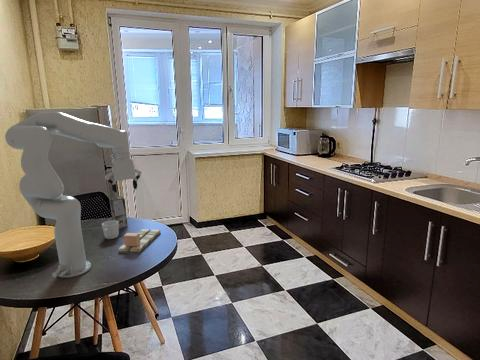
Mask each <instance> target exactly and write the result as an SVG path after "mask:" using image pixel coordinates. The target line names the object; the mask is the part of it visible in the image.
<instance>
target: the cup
mask: <svg viewBox="0 0 480 360" xmlns="http://www.w3.org/2000/svg"><path fill="white" fill-rule="evenodd" d="M101 227H102V232H103V235H104V238H105V239H106V240H114V239H116V238H118V236H119V234H120V233H119V232H120V231H119V229H120V228H119V222H118V221H116V220H106V221H104V222H101Z"/></svg>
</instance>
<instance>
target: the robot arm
mask: <svg viewBox="0 0 480 360" xmlns="http://www.w3.org/2000/svg"><path fill="white" fill-rule="evenodd" d="M53 135H57V136H61V137H64V138H69V139H73V140H75V141H79V142H86V143H94V144H95V145H97V147H99V148H103V149H104V148H107V149H108V148H109V149H110V148H112V154H110V155H109V157H110V158H112V160H111V172H109V173H108V174H106V175H105V176H104V178H105V179H106V181H107V182H109V183H110V185H111V188H112V191H113V192H114V193H117V192H118V189H117V181H124V180H132V188H133V189H134V190H137V188H138V180H139V179H140V178H141V175H142V171H140V170H137V169H135V164H134V160H133V158H132V157H131V155H130V154H131V153H130V145H129V135H128V131H126V130H124V129H121V130H120V129H116V128H114V127H111V126H107V125H103V124H100V123H95V122H90V121H87V120H84V119H81V118H78V117H76V116H73V115H70V114H67V113H64V112H61V111H41V112H38V113H35V114H33V115H30V116H29V117H27V118H26V119H23V120H22V121H19V122H17V123H15V124H14V125H11V126H10V127H9V128H8V129H7V130H6V132H5V135H4V138H5V142H6V144H7V145H8V146H10V148H11V149H14V150H23V151H22V152H21V153H22V154H21V157H20V166H21V169H22V172H23V173H24V175H22V177H21V179H20V180H19V183H18V187H19V191H20V194H21V195H22V197H23V198H24V199H25V201H26V202H27V203H28V205H29V206H30V207H31V209H32V210H33V211H34V212H35V213H36V214H37V215H38V216H39V217H41V218H45V219H52V220H56V223H55V225H54V230H53V232H54V238H55V239H54V240H55V244H56V250H57V256H58V262H59V264H58V265H57V266H58V267H57V270H56V271H53V273H51V275H52V278H58V277H59V278H63V279H64V278H66V279H67V278H75V277H79V276H80V275H83V274H85V273H87V272H88V271H89V270H90V269H91V268H92V263H91V262H90V261H89V260H87V257H86V252H85V251H86V250H85V244H84V238H83V236H84V235H83V231H82V224H81V223H82V222H81V214H82V213H81V211H82V206H81V203H80V202H81V201H79V200H78V199H77V198H76V197H74V196H71V195H63V194H64V192H65V186H64V184H63V181H62V179H61V178H60V176H59V175H58V173H57V172H56V170H55V169H54V167H53V166H52V164H51V162H50V160H49V151H50V148H51V145H52V142H53ZM136 173H137V174H136ZM111 177H112V179H110V178H111Z"/></svg>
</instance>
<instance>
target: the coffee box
mask: <svg viewBox="0 0 480 360" xmlns="http://www.w3.org/2000/svg"><path fill="white" fill-rule="evenodd" d="M109 205H110V212H111V219H112V220H116V221H118V222H119V229H121V228H126V227H128V217H127V208H126V199H125V198H124V197H123V196H122V195H117V196H113V197H109Z"/></svg>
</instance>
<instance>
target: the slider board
mask: <svg viewBox="0 0 480 360" xmlns="http://www.w3.org/2000/svg"><path fill="white" fill-rule="evenodd" d="M137 233H139V235H140V244H139V245H138V246H133V247H132V246H125V243H123V244H122V245H121V246H120V247H118V248H117V249H118V253H119V254H137V255H138V254H141V253H142V252H143V250H145V249H146V248H147V247H148V246H149V245H150V244H151V243H152V242H153V241H154V240H155V239H156V238H157V237H159V235H160V234H161V229H154V228H153V229H151V230H150V229H149V228H142V229H140V230H139V231H138V232H137Z"/></svg>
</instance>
